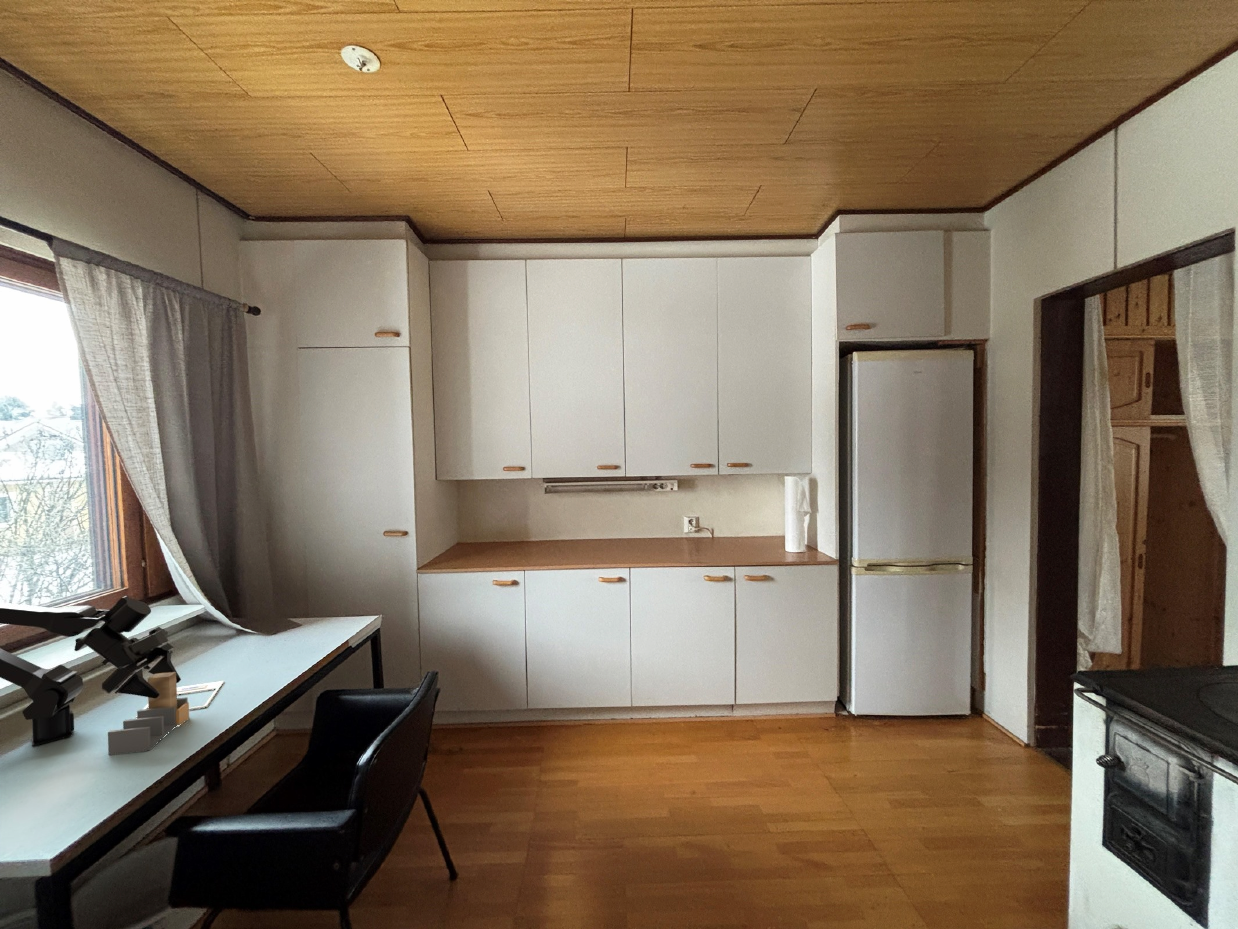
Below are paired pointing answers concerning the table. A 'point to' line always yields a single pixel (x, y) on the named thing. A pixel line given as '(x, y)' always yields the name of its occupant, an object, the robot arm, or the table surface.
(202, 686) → the photo frame
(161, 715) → the rack
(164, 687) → the wooden block
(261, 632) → the table surface
